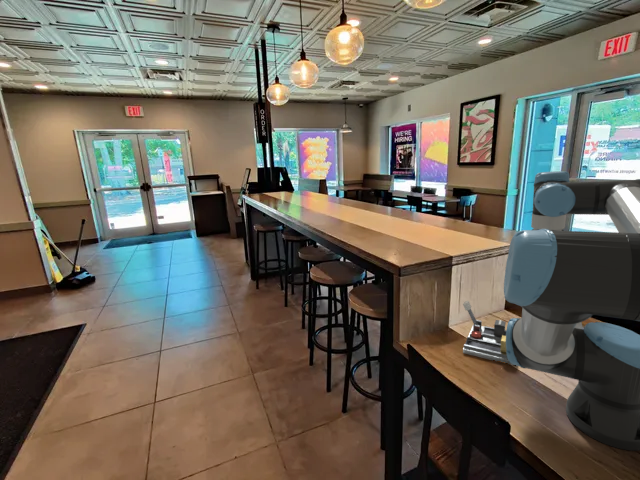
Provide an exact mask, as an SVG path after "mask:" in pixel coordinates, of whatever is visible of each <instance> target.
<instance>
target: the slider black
mask: <svg viewBox="0 0 640 480" xmlns="http://www.w3.org/2000/svg"><path fill="white" fill-rule="evenodd" d="M506 325H507V324H506V321H504V320H501V319H495V321H494V324H493V326H494V327H493V328H494V335H495V336H500V337H502V335H503V336H504V335H505V330H506Z"/></svg>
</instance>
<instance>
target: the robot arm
mask: <svg viewBox="0 0 640 480" xmlns="http://www.w3.org/2000/svg"><path fill="white" fill-rule="evenodd" d="M532 199H533V200H532V211H531V212H532V213H531V222H530V223H531V228H532V229H523V230H520V231H517V232H515V233H514V234H513V236H512V237H511V241H510V244H509V247H508V255H507V258H506V264H505V272H504V278H503V279H504V282H503V284H504V285H503V295H504V299H505V301H507V302H508V303H510V304H515V305H517V306H520V307H521V308H522V311H521V317H519V318H514V317H513V318H512V317H511V318H510V319H509V320H508V322H507V324H506V329H505V330H506V350H507V351H506V353H507V358H508V360H509V362H510V363H512V364H513V365H516V366H515V367H520V368H521V369H528V370H531V371H537V372H543V373H546V374H550V375H554V376H555V375H556V376H559V377H563V378H569V379H573V380H577V381H578V383H577V384H576V386H575V387H574V388H573V390H572V392H571V393H569V394H570V395H569V396H568V397H567V399H566V405H565V413H566V416H567V417H568V419H569V420H570V421H571V423H572V424H573V425H574V426H575V427H576V428H577V429H579V431H580V432H582V433H584V434H585V435H587V436H588V437H590V438H592V439H593V440H595V441H598V442H600V443H602V444H604V445H606V446H609V447H613V448H616V449H620V450H626V451H640V334H638V333H637V332H635V331H633V330H631V329H628V328H625V327H623V326H620V325H616V324H612V323H608V322H601V321H595V322H593V321H592V322H587V323H586V324H585V325H584V327H583V328H581V329H578V328H575V326H576V324H577V323H580V322H585V321H587V320H588V319H590V318H591V317H593V316H601V317H606V318H615V319H622V320H630V321H636V322H640V178H637V179H628V180H627V179H625V180H606V181H574V182H573V181H570V173H569V172H568V171H566V170H565V171H564V170H563V171H562V170H560V171H559V170H558V171H543V172H537V174H535V176H534V183H533V196H532ZM567 215H594V216H595V215H599V216H600V215H601V216H602V215H604V216H605V215H606V216H607V215H608V216H609V217H610V219H611V222H612V223H613V225H614V226H615V228H616V230H617V232H616V231H615V232H614V231H613V232H611V231H582V230H581V231H576V230H575V231H573V230H564V229H565V228H566V220H567ZM513 365H512V366H513Z"/></svg>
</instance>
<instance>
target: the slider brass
mask: <svg viewBox="0 0 640 480" xmlns="http://www.w3.org/2000/svg"><path fill="white" fill-rule="evenodd" d="M506 351H507V350H506V336H503V335H502V339H501V350H500V353H505V354H507V353H506Z"/></svg>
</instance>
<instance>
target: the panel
mask: <svg viewBox="0 0 640 480" xmlns="http://www.w3.org/2000/svg"><path fill="white" fill-rule="evenodd" d="M476 321H477V323H478V324H479V325H474V324H472V325H471V326H472V327H471V329H470V331H469V334H468V336H467V337H466V341H465V343H464V344H463V348H462V353H463V354H465V355H466V354H467V355H470V356H473V357H478V358H482V359H486V360H490V361H493V360H495V361H494V362H497V361H501V362H505V363H508V364H507V365H509V364H511V365H510V366H513V364H512V363H510V362H509V360H508V358H507V354H505V353H500V350H501V339H502V337H500V336H495V335H494V327H490V326H483V325H482V323H483V321H482V320H478V319H476ZM506 330H507V329H505V335H504V336H506ZM501 362H500V363H501ZM505 363H504V364H505Z"/></svg>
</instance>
